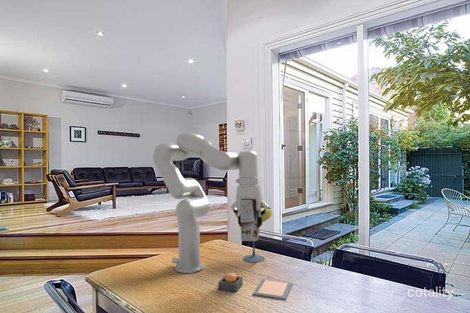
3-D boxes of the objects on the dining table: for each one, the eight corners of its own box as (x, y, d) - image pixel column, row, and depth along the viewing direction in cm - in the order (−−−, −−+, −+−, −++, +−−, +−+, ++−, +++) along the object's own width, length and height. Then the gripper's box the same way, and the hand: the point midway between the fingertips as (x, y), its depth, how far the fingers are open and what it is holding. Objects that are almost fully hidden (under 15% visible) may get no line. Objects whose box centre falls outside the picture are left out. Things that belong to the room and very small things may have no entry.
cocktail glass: (231, 255, 154) (230, 206, 155) (263, 251, 160) (262, 204, 160) (242, 267, 137) (241, 212, 137) (278, 262, 142) (277, 209, 143)
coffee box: (257, 241, 115) (255, 199, 115) (240, 241, 116) (239, 199, 117) (260, 235, 124) (258, 196, 124) (244, 235, 125) (243, 196, 126)
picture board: (252, 295, 108) (252, 293, 108) (262, 280, 121) (262, 278, 121) (285, 300, 104) (285, 298, 104) (292, 284, 117) (292, 282, 117)
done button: (223, 283, 114) (223, 276, 114) (227, 279, 118) (227, 272, 118) (234, 285, 112) (233, 277, 112) (237, 280, 116) (237, 273, 116)
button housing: (218, 289, 113) (218, 281, 113) (225, 282, 120) (225, 274, 120) (236, 292, 110) (236, 284, 110) (242, 284, 117) (242, 277, 117)
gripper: (225, 182, 120) (226, 227, 119) (267, 182, 114) (269, 229, 114) (231, 181, 127) (233, 223, 126) (271, 180, 121) (273, 225, 121)
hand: (250, 225), depth 120 cm, fingers closed on coffee box, 7 cm apart
